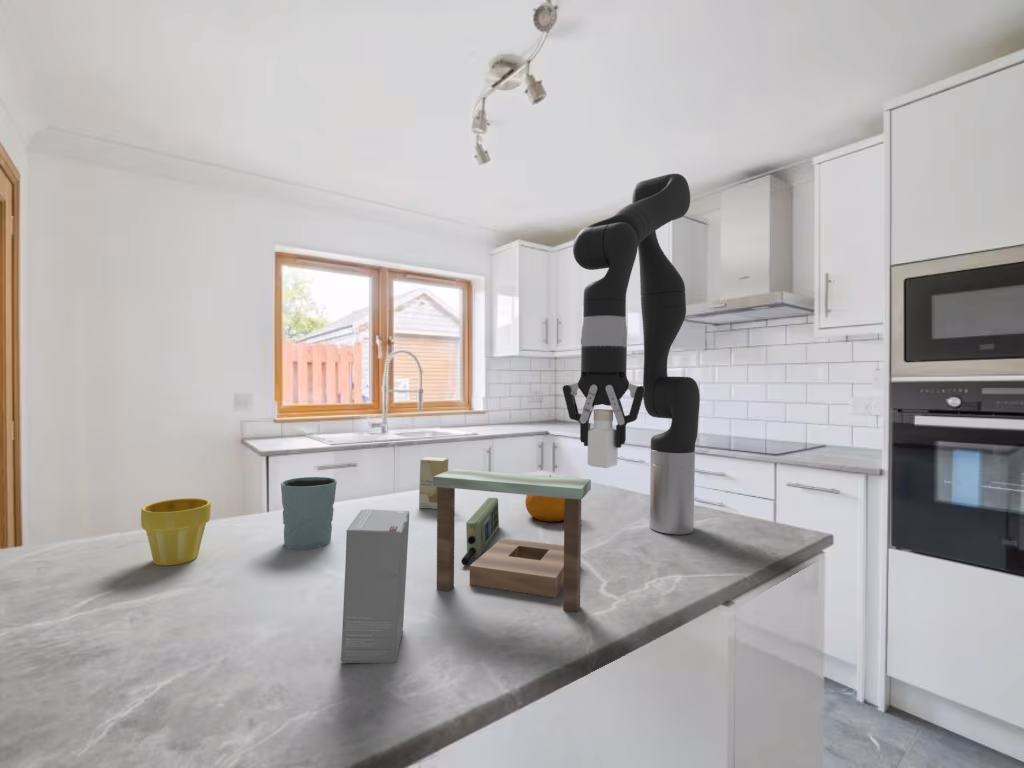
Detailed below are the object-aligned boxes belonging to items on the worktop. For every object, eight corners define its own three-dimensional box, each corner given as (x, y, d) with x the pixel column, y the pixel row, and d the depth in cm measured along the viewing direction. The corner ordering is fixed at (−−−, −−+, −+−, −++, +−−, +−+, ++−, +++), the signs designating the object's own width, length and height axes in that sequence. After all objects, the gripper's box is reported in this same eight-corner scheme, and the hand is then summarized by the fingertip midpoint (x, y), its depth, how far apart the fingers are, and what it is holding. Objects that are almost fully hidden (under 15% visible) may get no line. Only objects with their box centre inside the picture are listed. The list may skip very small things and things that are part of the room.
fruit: (578, 525, 115) (579, 480, 114) (525, 525, 115) (526, 480, 115) (572, 511, 126) (573, 471, 126) (524, 511, 126) (525, 470, 126)
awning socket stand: (479, 551, 97) (480, 458, 97) (602, 567, 89) (603, 466, 89) (432, 590, 79) (433, 476, 79) (579, 614, 72) (581, 488, 71)
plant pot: (218, 559, 92) (219, 504, 91) (149, 575, 84) (149, 515, 84) (200, 545, 99) (200, 494, 99) (134, 559, 91) (134, 504, 91)
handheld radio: (501, 527, 113) (474, 569, 89) (486, 527, 114) (456, 569, 89) (500, 497, 113) (473, 530, 89) (485, 497, 114) (454, 530, 89)
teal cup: (268, 546, 99) (269, 483, 99) (308, 531, 108) (308, 474, 108) (310, 553, 95) (310, 488, 95) (347, 537, 104) (347, 478, 104)
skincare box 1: (354, 630, 67) (355, 508, 66) (410, 628, 67) (411, 507, 67) (337, 667, 58) (338, 527, 58) (402, 664, 59) (403, 526, 59)
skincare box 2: (418, 508, 128) (418, 459, 128) (424, 504, 132) (424, 456, 132) (443, 509, 127) (443, 460, 127) (448, 505, 131) (448, 457, 131)
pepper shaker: (597, 463, 90) (598, 408, 90) (618, 465, 87) (619, 409, 87) (586, 466, 87) (586, 409, 86) (607, 469, 84) (608, 410, 84)
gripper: (649, 346, 88) (648, 446, 88) (567, 346, 92) (565, 441, 93) (646, 343, 81) (644, 451, 81) (557, 344, 85) (555, 446, 86)
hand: (602, 445), depth 87 cm, fingers closed on pepper shaker, 4 cm apart
